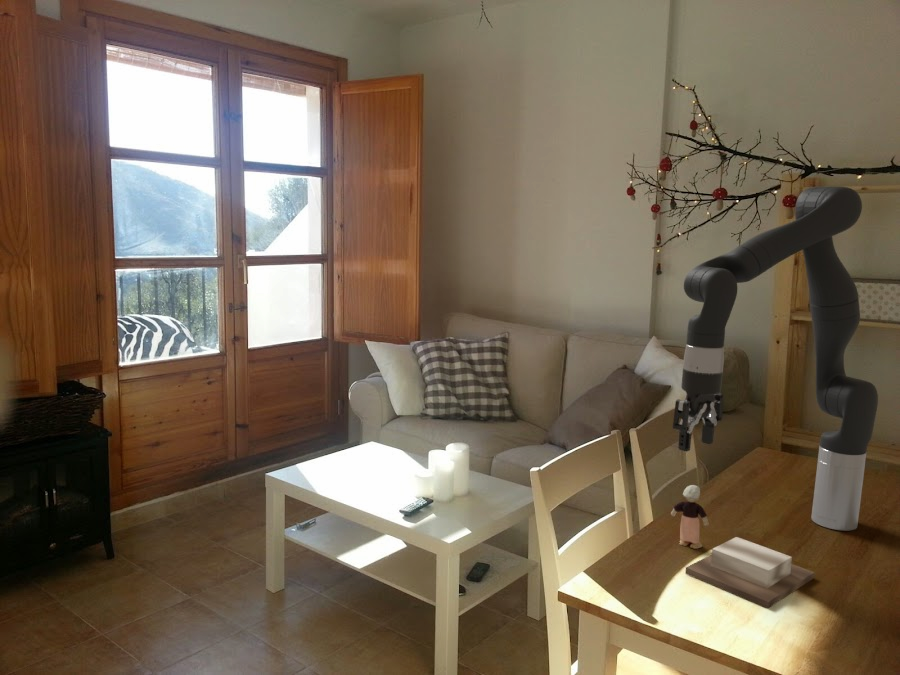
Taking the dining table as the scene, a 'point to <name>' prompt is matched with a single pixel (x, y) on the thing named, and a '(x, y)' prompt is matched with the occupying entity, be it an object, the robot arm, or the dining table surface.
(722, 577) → the plinth
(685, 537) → the grandmother figurine
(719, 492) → the dining table surface
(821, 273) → the robot arm
